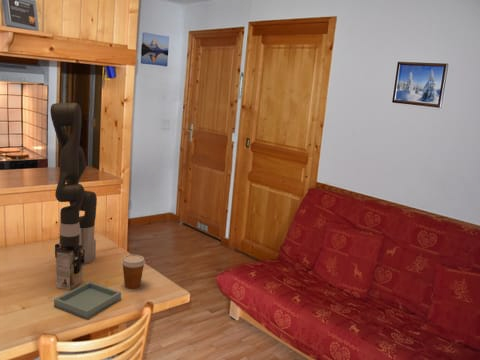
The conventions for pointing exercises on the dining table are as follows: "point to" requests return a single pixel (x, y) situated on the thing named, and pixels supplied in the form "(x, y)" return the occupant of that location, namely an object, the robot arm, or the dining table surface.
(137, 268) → the disposable coffee cup
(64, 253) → the coffee box
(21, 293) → the dining table surface
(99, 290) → the tray
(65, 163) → the robot arm
